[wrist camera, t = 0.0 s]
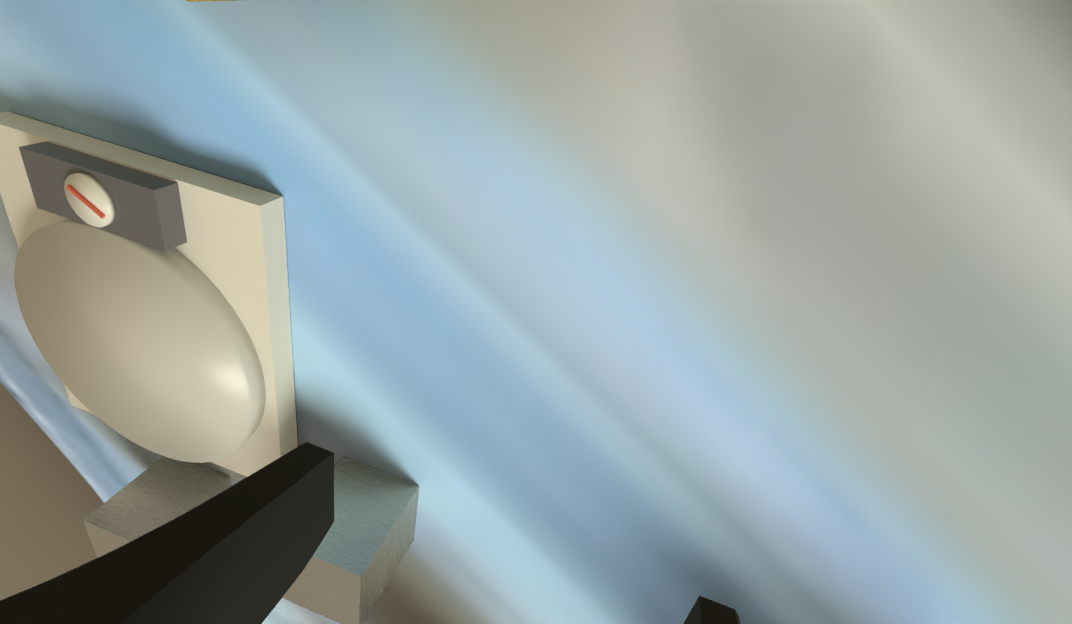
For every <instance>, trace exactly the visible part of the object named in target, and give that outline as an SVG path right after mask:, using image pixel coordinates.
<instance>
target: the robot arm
mask: <svg viewBox="0 0 1072 624" xmlns="http://www.w3.org/2000/svg"><path fill="white" fill-rule="evenodd" d="M333 523H334V453H333V452H330V451H328V450H325V449H323V448H320V447H318V446H315V445H312V444H310V443H307V442H306V443H304V444H301V445H300V446H298V447H296V448H295V449H293V450H291V451H290V452H288V453H286V454H285V455H283V456H281V457H280V458H278V459H276V460H275V461H273V462H271V463H270V464H268V465H266V466H265V467H263V468H261V469H260V470H258V471H256V472H255V473H253V474H251V475H250V476H248V477H246V478H245V479H243V480H241V481H240V482H238V483H236V484H235V485H233V486H231V487H229V488H228V489H226V490H224V491H222V492H221V493H219V494H217V495H215V496H214V497H212V498H210V499H208V500H207V501H205V502H203V503H201V504H200V505H198V506H196V507H194V508H193V509H191V510H189V511H187V512H186V513H184V514H182V515H180V516H178V517H176V518H175V519H173V520H171V521H169V522H167V523H165V524H163V525H161V526H159V527H157V528H155V529H154V530H152V531H150V532H148V533H146V534H144V535H142V536H140V537H138V538H136V539H134V540H133V541H131V542H129V543H127V544H125V545H123V546H121V547H119V548H117V549H115V550H113V551H111V552H109V553H107V554H105V555H102V556H100V557H98V558H96V559H94V560H92V561H90V562H88V563H86V564H84V565H81V566H79V567H77V568H75V569H73V570H70V571H68V572H66V573H64V574H62V575H59V576H57V577H55V578H53V579H51V580H48V581H46V582H44V583H42V584H39V585H37V586H35V587H32V588H30V589H27V590H25V591H22V592H20V593H18V594H15V595H13V596H10V597H8V598H6V599H3V600H1V601H0V624H261V623H262V622H263V621H264V620H265V618H266V617H267V616H268V615H269V613H270V612H271V611H272V610H273V608H274V607H275V606H276V605H277V603H278V602H279V601H280V600H281V598H282V597H283V596H284V594H285V593H286V592H287V591H288V589H289V588H290V587H291V586H292V584H293V583H294V582H295V580H296V579H297V578H298V577H299V575H300V574H301V573H302V571H303V570H304V569H305V567H306V566H307V564H308V562H309V561H310V559H311V558H312V556H313V555H314V553H315V552H316V550H317V549H318V547H319V545H320V544H321V542H322V540H323V539H324V537H325V536H326V534H327V532H328V531H329V529H330V527H331V526H332V524H333ZM684 624H740V621H739V616H738V614H737V613H736V611H735V609H732V608H730V607H727V606H724V605H722V604H719V603H717V602H714V601H712V600H709V599H707V598H704V597H701V596H699V597H698V599H697V601H696V603H695V605H694V606H693V608H692V610H691V612H690V613H689V615H688V617H687V619H686V620H685V622H684Z"/></svg>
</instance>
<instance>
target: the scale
mask: <svg viewBox="0 0 1072 624" xmlns="http://www.w3.org/2000/svg"><path fill="white" fill-rule="evenodd" d="M0 194H1V197H2V200H3V203H4V206H5V209H6V212H7V215H8V218H9V221H10V224H11V227H12V230H13V233H14V236H15V239H16V242H17V245H18V248H19V252H18V255H17V258H16V264H15V287H16V293H17V298H18V302H19V305H20V309H21V312H22V315H23V317H24V320H25V322H26V325H27V327H28V329H29V331H30V333H31V335H32V337H33V339H34V341H35V343H36V345H37V346H38V348H39V350H40V351H41V353H42V355H43V356H44V358H45V359H46V361H47V362H48V364H49V365H50V366H51V368H52V369H53V371H54V372H55V373H56V375H57V376H58V377H59V378H60V380H61V381H62V382H63V383H64V385H65V388H66V391H67V394H68V397H69V400H70V403H71V405H73V406H75V407H77V408H80V409H82V410H85V411H87V412H90V413H92V414H95V415H96V416H97V417H98V418H99V419H100V420H101V421H103V422H104V423H105V424H107V425H108V426H109V427H111V428H112V429H113V430H115V431H116V432H118V433H119V434H121V435H122V436H124V437H125V438H127V439H129V440H130V441H132V442H134V443H136V444H137V445H139V446H141V447H143V448H145V449H147V450H150V451H152V452H154V453H156V454H159V455H162V456H165V457H167V458H171V459H175V460H179V461H185V462H192V463H205V462H212V463H214V464H217V465H219V466H222V467H224V468H226V469H229V470H231V471H234V472H236V473H239V474H241V475H244V476H246V477H248V476H250V475H251V474H253V473H255V472H256V471H258V470H260V469H261V468H263V467H265V466H266V465H268V464H270V463H271V462H273V461H275V460H276V459H278V458H280V457H281V456H283V455H285V454H286V453H288V452H290V451H291V450H293V449H295V448H296V447H298V439H297V422H296V406H295V389H294V372H293V355H292V338H291V322H290V305H289V288H288V271H287V254H286V238H285V221H284V204H283V196H280V195H277V194H274V193H270V192H267V191H264V190H261V189H257V188H254V187H251V186H248V185H244V184H241V183H238V182H235V181H232V180H228V179H225V178H222V177H219V176H215V175H212V174H209V173H206V172H202V171H199V170H196V169H193V168H189V167H186V166H183V165H180V164H176V163H173V162H170V161H167V160H164V159H160V158H157V157H154V156H151V155H147V154H144V153H141V152H138V151H134V150H131V149H128V148H125V147H121V146H118V145H115V144H112V143H108V142H105V141H102V140H99V139H96V138H92V137H89V136H86V135H83V134H79V133H76V132H73V131H70V130H66V129H63V128H60V127H57V126H53V125H50V124H47V123H44V122H40V121H37V120H34V119H31V118H28V117H24V116H21V115H18V114H15V113H11V112H8V111H7V112H0Z"/></svg>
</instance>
